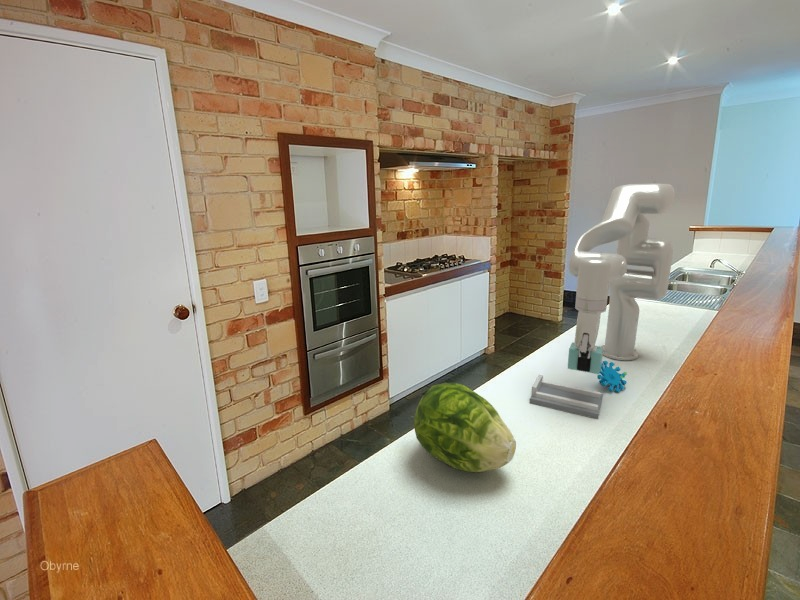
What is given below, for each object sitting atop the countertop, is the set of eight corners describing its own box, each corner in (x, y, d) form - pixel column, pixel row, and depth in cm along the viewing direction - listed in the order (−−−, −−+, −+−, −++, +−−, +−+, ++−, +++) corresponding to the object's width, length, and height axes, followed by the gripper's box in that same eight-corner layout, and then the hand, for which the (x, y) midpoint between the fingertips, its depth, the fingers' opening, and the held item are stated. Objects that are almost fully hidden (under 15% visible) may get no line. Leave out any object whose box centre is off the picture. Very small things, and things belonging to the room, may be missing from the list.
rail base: (539, 385, 126) (539, 372, 125) (602, 398, 117) (604, 384, 116) (529, 403, 116) (530, 389, 115) (598, 419, 107) (599, 404, 106)
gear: (606, 391, 117) (594, 360, 122) (593, 398, 122) (581, 367, 127) (636, 390, 121) (622, 359, 125) (621, 396, 125) (609, 366, 130)
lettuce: (492, 509, 79) (495, 427, 74) (399, 463, 93) (396, 392, 88) (527, 460, 92) (532, 388, 87) (442, 426, 106) (441, 362, 101)
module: (570, 361, 115) (572, 341, 114) (601, 367, 111) (603, 345, 110) (567, 368, 111) (569, 347, 109) (599, 374, 107) (601, 352, 105)
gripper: (580, 294, 115) (574, 353, 120) (570, 310, 101) (565, 376, 106) (609, 297, 111) (602, 357, 116) (603, 314, 97) (596, 382, 102)
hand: (584, 365), depth 111 cm, fingers closed on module, 5 cm apart
